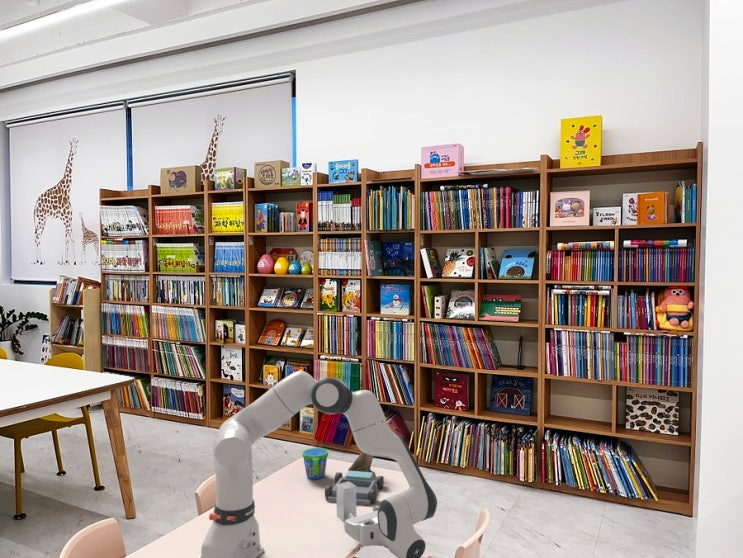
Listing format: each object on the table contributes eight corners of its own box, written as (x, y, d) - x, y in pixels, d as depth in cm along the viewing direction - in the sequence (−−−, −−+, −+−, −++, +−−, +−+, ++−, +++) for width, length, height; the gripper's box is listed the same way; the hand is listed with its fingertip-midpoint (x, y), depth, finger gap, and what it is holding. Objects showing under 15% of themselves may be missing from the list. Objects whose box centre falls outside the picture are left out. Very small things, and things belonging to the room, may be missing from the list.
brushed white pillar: (356, 517, 190) (356, 486, 190) (343, 521, 188) (343, 489, 187) (349, 511, 195) (349, 481, 194) (336, 515, 192) (336, 484, 192)
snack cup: (304, 469, 235) (304, 445, 235) (329, 469, 235) (329, 445, 235) (300, 483, 219) (300, 458, 219) (326, 483, 219) (326, 458, 219)
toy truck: (373, 505, 199) (373, 493, 199) (323, 501, 203) (323, 489, 203) (384, 484, 219) (384, 473, 219) (338, 480, 223) (338, 469, 223)
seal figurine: (375, 481, 228) (383, 441, 225) (367, 485, 224) (374, 444, 221) (354, 469, 235) (361, 429, 232) (345, 472, 231) (352, 432, 228)
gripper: (413, 510, 175) (388, 495, 187) (358, 527, 164) (335, 509, 176) (413, 530, 176) (388, 513, 187) (358, 548, 165) (336, 529, 176)
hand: (362, 511), depth 182 cm, fingers open, 8 cm apart
